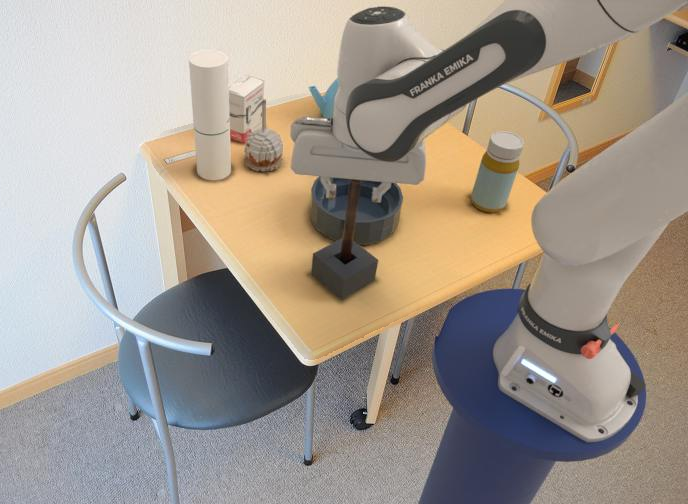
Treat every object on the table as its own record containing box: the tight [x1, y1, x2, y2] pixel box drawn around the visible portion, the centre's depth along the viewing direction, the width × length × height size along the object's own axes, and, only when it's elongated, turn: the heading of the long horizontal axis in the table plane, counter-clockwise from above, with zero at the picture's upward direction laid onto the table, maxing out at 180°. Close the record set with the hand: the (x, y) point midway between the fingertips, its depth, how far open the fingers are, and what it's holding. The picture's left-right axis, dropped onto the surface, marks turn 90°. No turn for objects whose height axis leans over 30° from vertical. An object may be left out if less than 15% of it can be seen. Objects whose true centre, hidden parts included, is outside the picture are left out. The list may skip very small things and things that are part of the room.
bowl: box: [309, 176, 404, 245], centre depth 126 cm, size 17×17×6 cm
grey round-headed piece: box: [244, 98, 284, 173], centre depth 135 cm, size 8×8×15 cm
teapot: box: [308, 77, 339, 118], centre depth 151 cm, size 15×17×11 cm
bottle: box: [470, 130, 525, 214], centre depth 128 cm, size 7×7×15 cm
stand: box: [310, 238, 379, 301], centre depth 114 cm, size 8×8×5 cm
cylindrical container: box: [188, 48, 232, 181], centre depth 129 cm, size 7×7×25 cm
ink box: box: [229, 74, 265, 144], centre depth 145 cm, size 9×5×12 cm, turn 150°
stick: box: [340, 179, 361, 264], centre depth 108 cm, size 2×2×22 cm
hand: (353, 198), depth 104 cm, fingers open, 6 cm apart
